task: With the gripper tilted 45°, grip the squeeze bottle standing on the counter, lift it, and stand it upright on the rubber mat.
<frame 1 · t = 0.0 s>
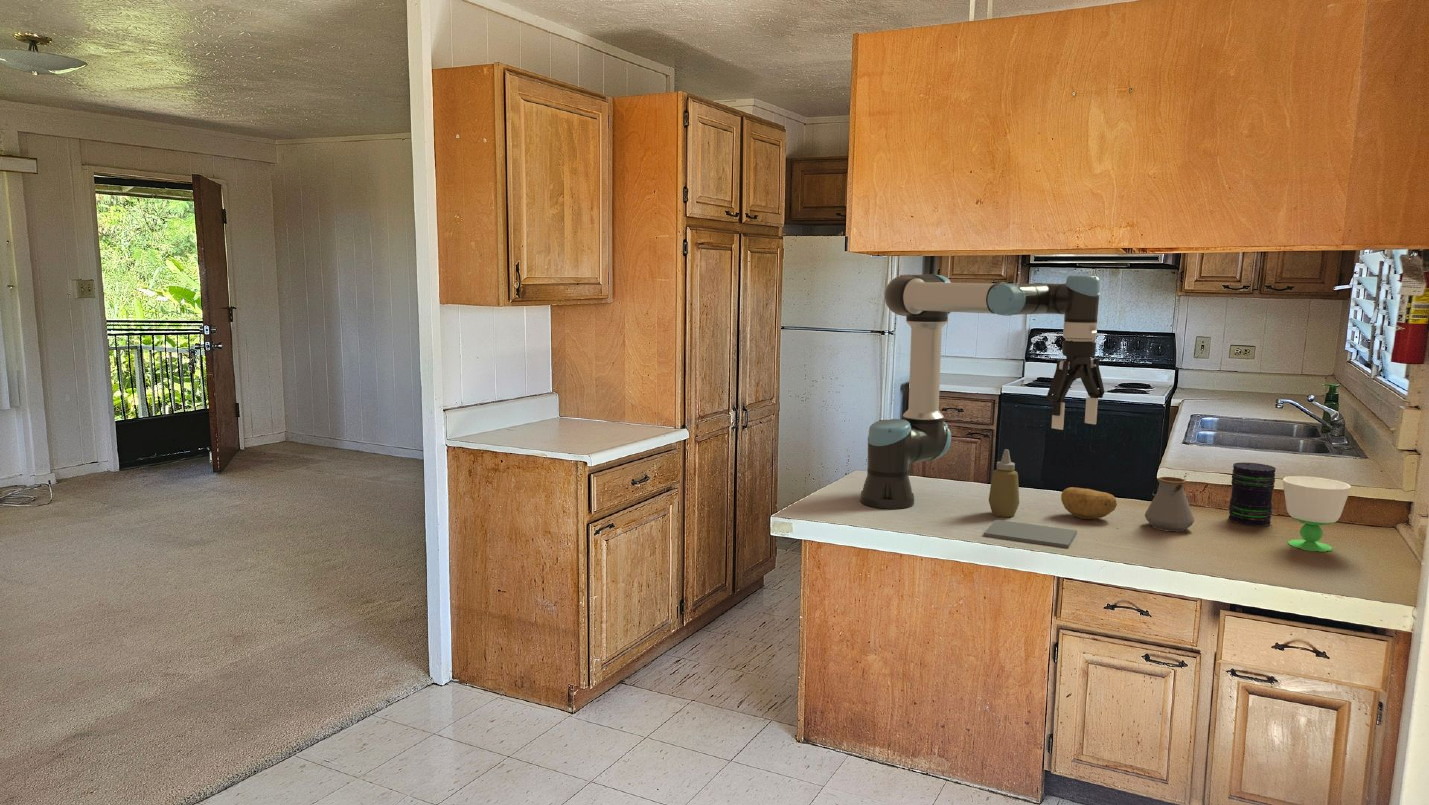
hand: (1074, 426, 219), 28 cm above the table, tool pointing down, fingers open, 13 cm apart
storage jar: (1249, 522, 238), on the table
rubber mat: (1030, 534, 225), on the table
potato: (1087, 518, 240), on the table
squeeze bottle: (1003, 515, 244), on the table
cup: (1309, 547, 216), on the table
coffee pot: (1170, 533, 227), on the table
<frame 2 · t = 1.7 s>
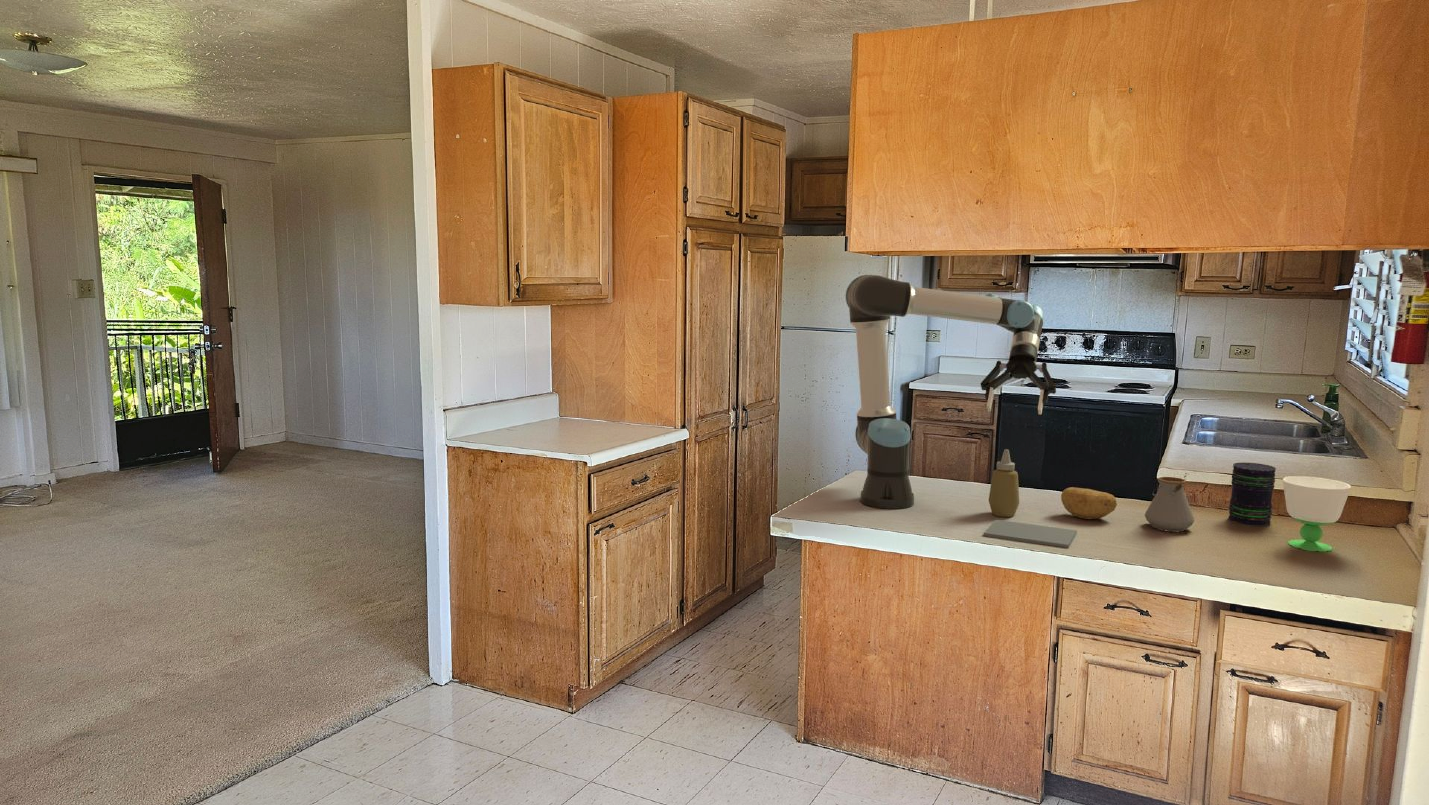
hand: (1013, 410, 248), 28 cm above the table, tool tilted 45°, fingers open, 13 cm apart
nothing on the table moved.
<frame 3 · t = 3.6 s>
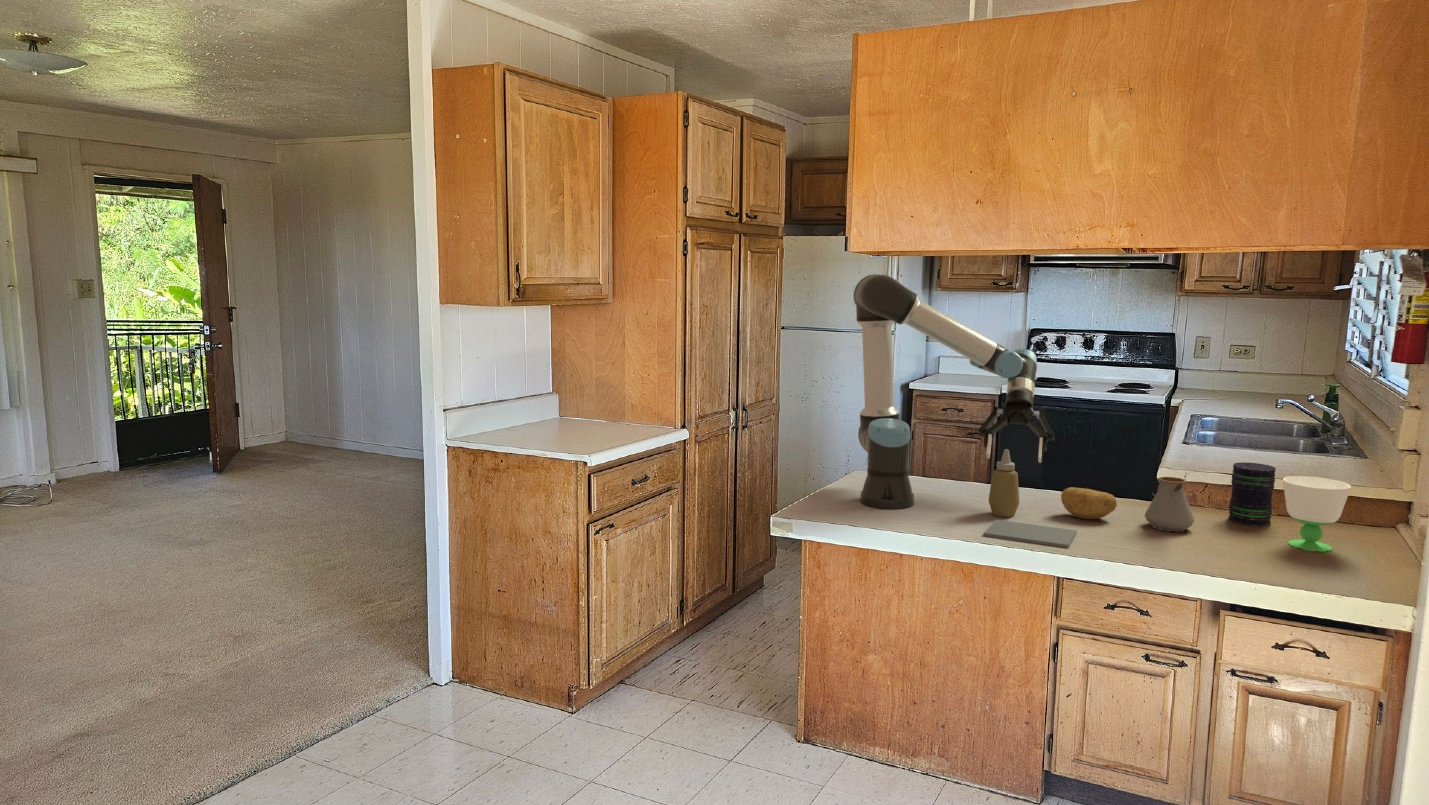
hand: (1013, 458, 247), 15 cm above the table, tool tilted 45°, fingers open, 13 cm apart
nothing on the table moved.
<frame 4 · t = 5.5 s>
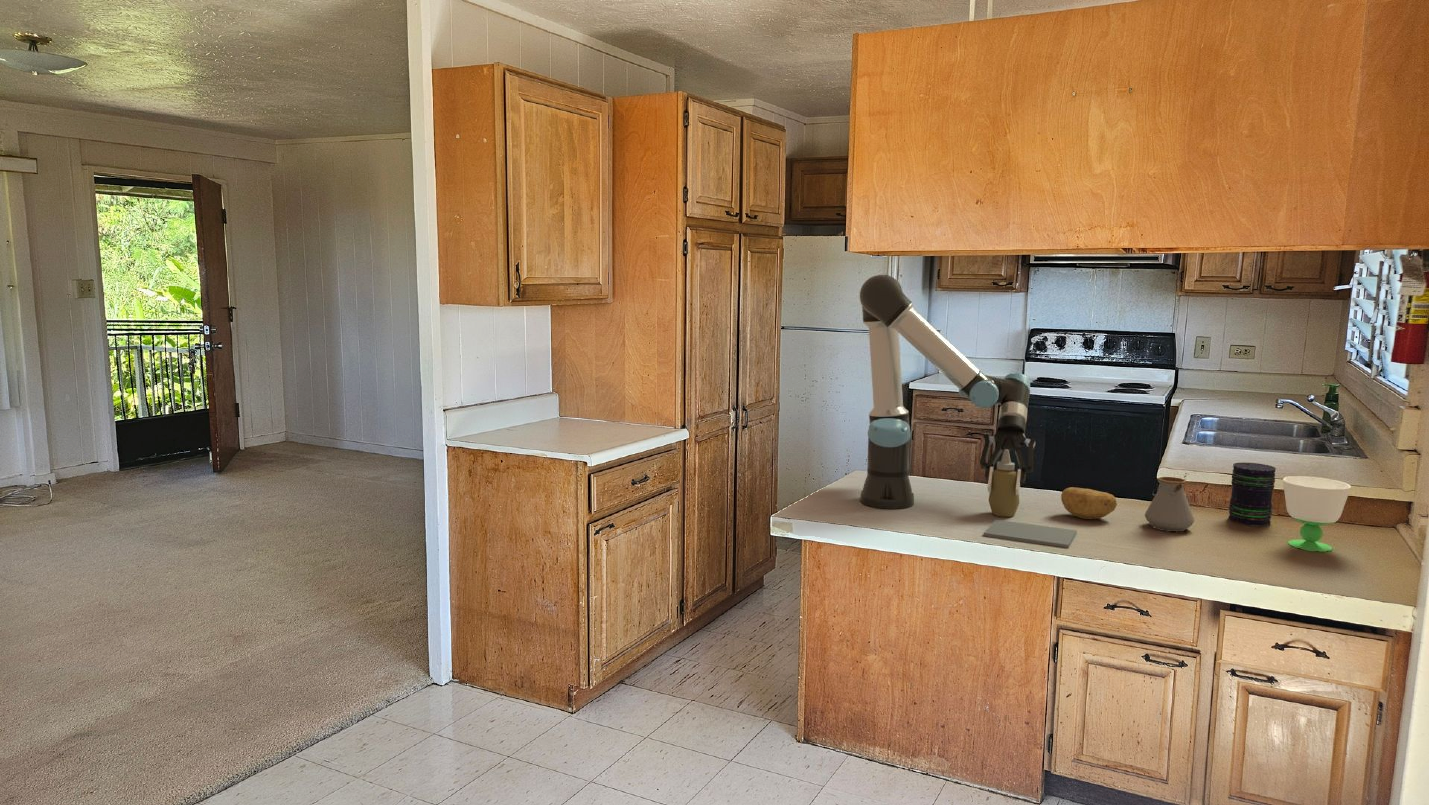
hand: (1003, 490, 239), 7 cm above the table, tool tilted 45°, fingers closed on squeeze bottle, 6 cm apart
squeeze bottle: (1003, 515, 244), on the table, touching gripper
everything else where it was.
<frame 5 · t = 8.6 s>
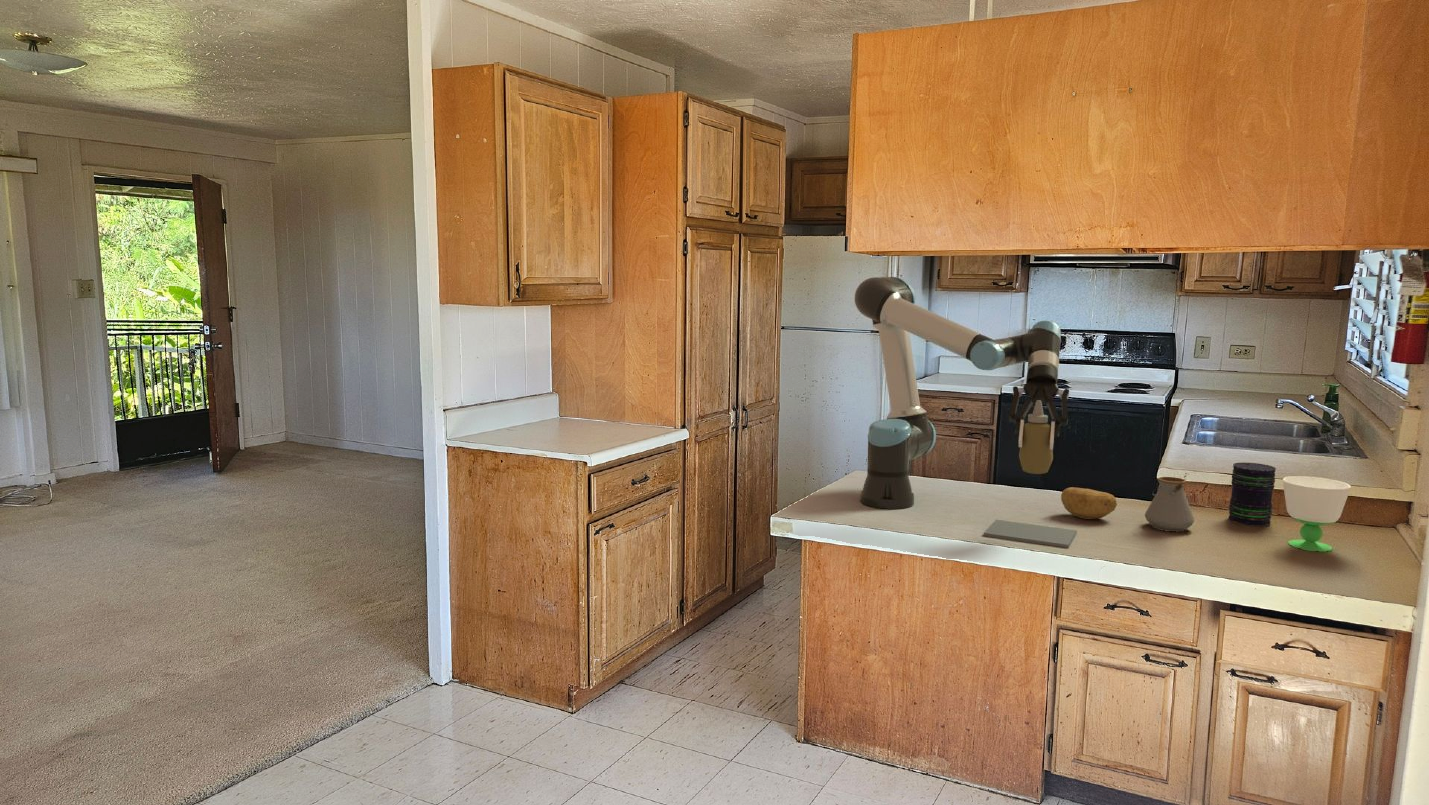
hand: (1035, 445, 219), 23 cm above the table, tool tilted 45°, fingers closed on squeeze bottle, 6 cm apart
squeeze bottle: (1034, 472, 223), point 16 cm above the table, touching gripper
everything else where it was.
when the fingers open (10 cm above the table, at t = 11.6 s): squeeze bottle drops 1 cm, resting on rubber mat.
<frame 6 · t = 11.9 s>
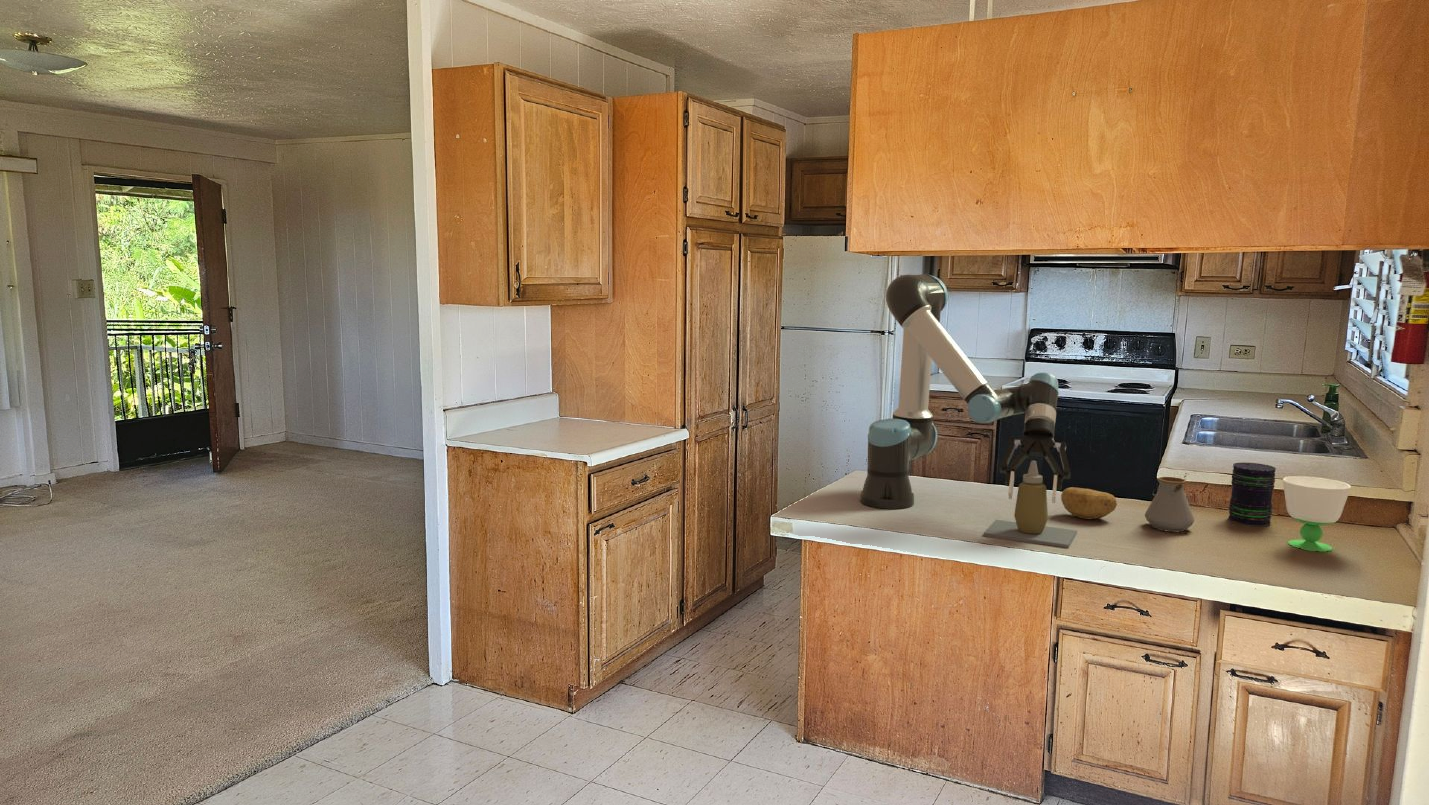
hand: (1031, 498, 221), 10 cm above the table, tool tilted 45°, fingers open, 9 cm apart
squeeze bottle: (1030, 532, 225), point 1 cm above the table, touching rubber mat
everything else where it was.
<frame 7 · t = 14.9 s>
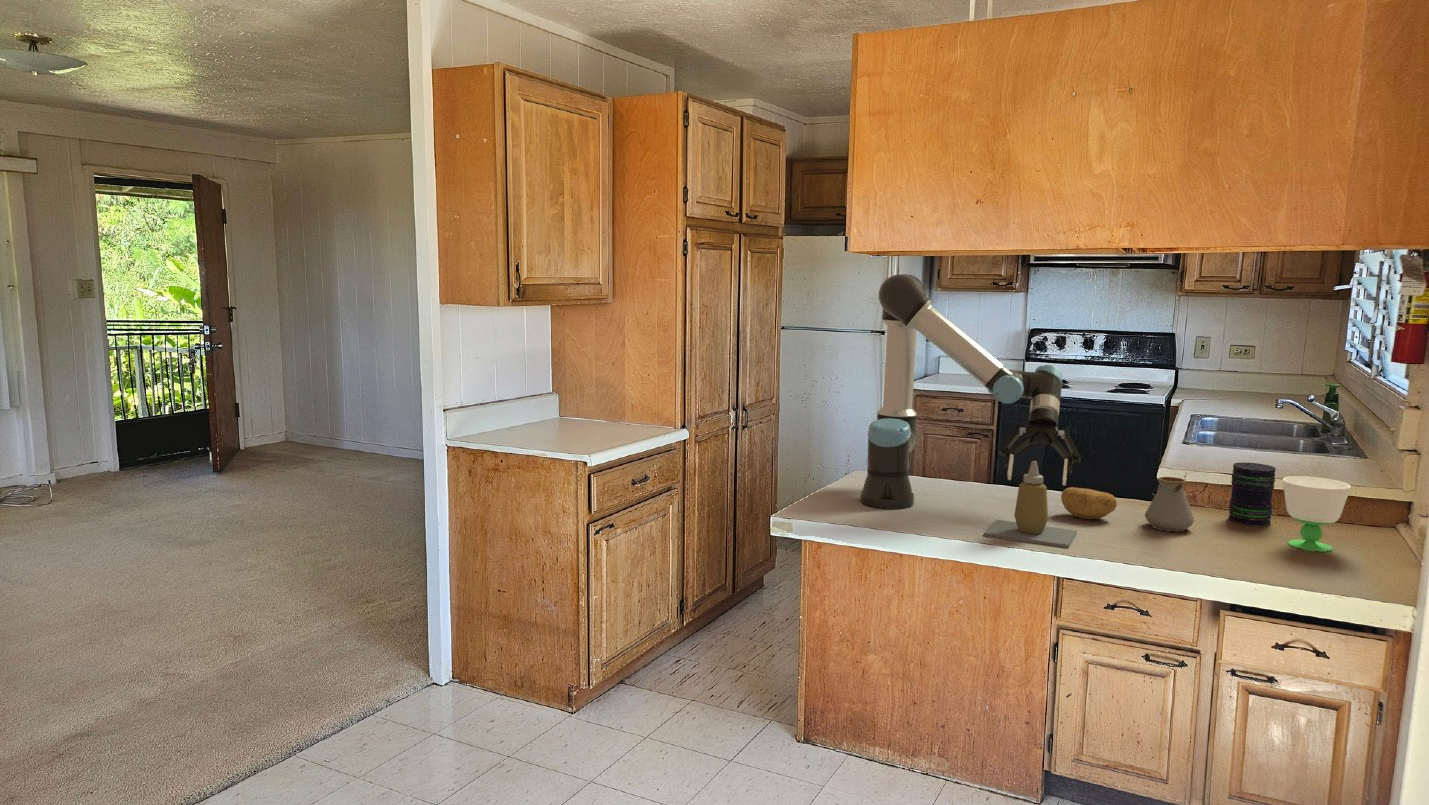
hand: (1036, 480, 233), 12 cm above the table, tool tilted 45°, fingers open, 13 cm apart
nothing on the table moved.
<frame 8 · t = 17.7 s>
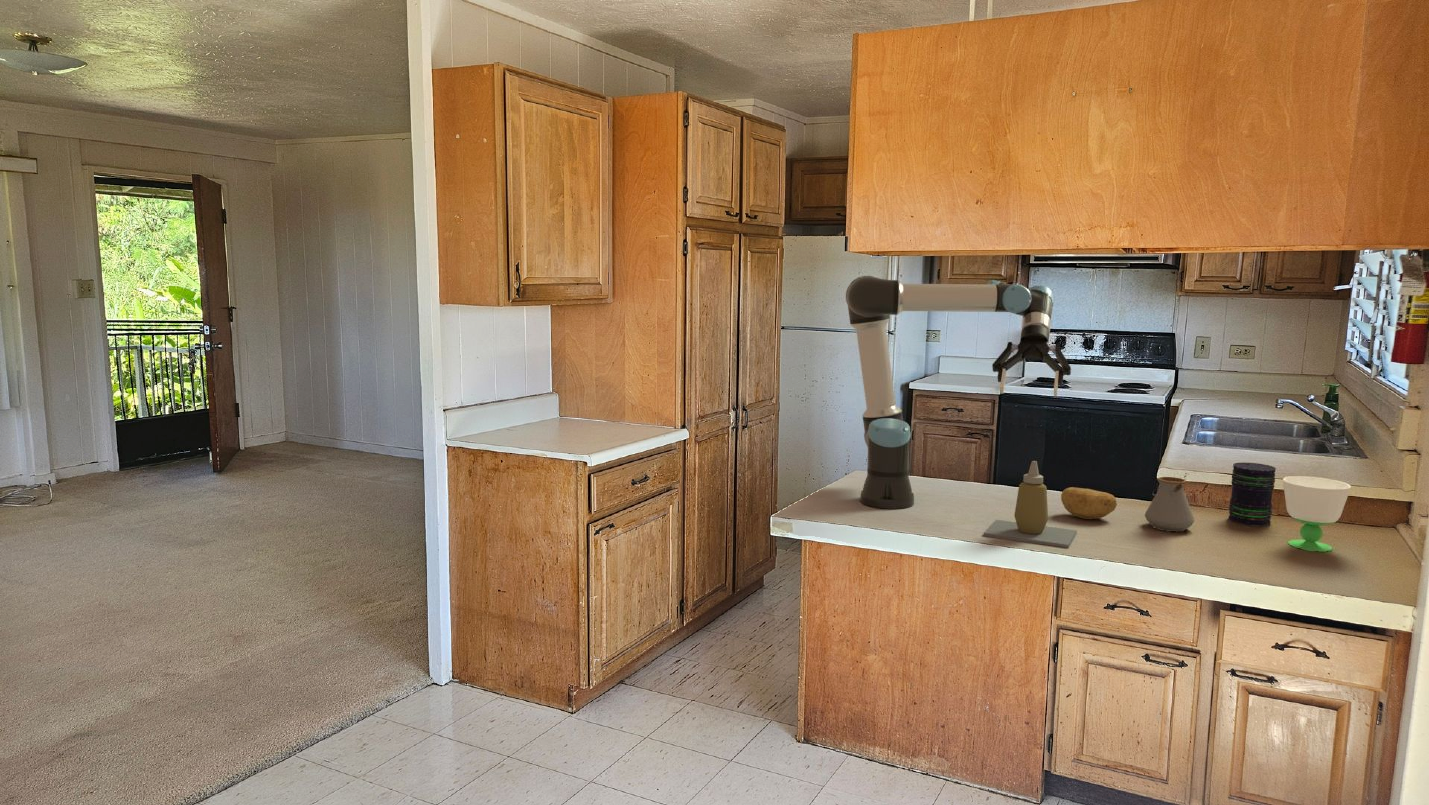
hand: (1028, 391, 240), 34 cm above the table, tool tilted 45°, fingers open, 13 cm apart
nothing on the table moved.
at the end: squeeze bottle 0.1 cm from the rubber mat (horizontally); squeeze bottle tilted 0°; the gripper is holding nothing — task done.
